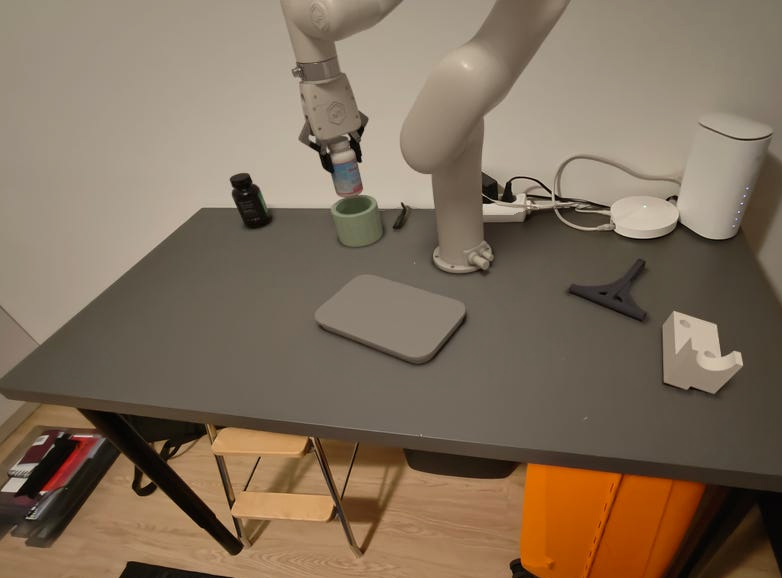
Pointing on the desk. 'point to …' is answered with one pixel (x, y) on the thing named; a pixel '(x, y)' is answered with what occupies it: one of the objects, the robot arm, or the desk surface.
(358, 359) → the desk surface
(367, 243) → the green cylindrical sleeve
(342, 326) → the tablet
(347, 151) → the pill bottle
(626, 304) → the bracket
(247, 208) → the supplement bottle
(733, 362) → the bracket
